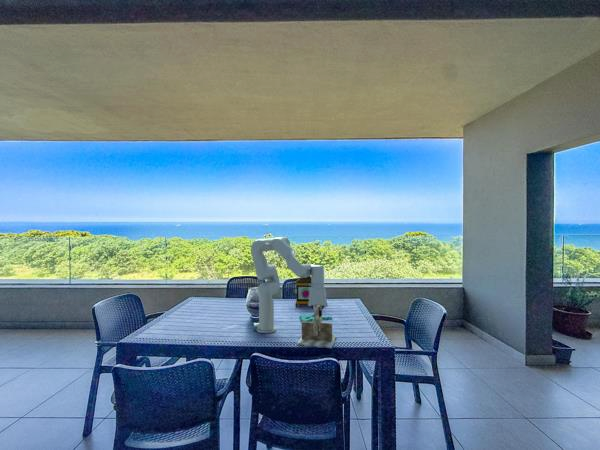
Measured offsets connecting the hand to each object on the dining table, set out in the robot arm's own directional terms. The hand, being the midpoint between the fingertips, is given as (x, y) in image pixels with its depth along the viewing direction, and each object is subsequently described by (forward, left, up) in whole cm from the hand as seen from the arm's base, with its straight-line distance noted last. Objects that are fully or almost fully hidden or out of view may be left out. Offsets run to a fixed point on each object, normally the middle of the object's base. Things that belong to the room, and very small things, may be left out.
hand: (317, 316), depth 194 cm
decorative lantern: (-25, +80, -14) cm, 85 cm away
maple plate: (0, -1, -10) cm, 10 cm away
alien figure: (-11, +40, -15) cm, 44 cm away
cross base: (0, -2, -14) cm, 14 cm away
